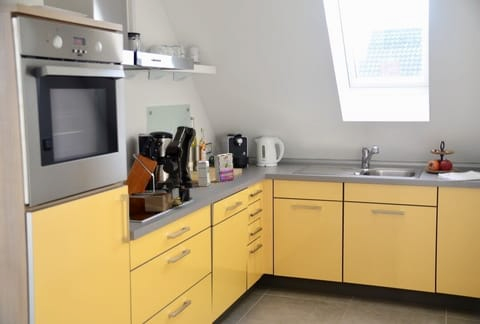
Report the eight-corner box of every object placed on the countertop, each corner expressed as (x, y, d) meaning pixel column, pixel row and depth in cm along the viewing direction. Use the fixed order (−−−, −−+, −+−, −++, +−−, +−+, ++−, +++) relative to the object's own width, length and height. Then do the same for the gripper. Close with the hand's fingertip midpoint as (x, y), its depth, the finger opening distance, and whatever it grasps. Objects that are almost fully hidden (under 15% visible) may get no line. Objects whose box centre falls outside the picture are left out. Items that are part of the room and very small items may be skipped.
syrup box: (207, 186, 347) (206, 161, 345) (198, 186, 348) (196, 161, 346) (210, 184, 352) (209, 160, 351) (200, 184, 353) (199, 160, 352)
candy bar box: (229, 179, 371) (227, 153, 369) (234, 180, 367) (233, 153, 365) (214, 181, 364) (213, 155, 362) (220, 182, 360) (218, 155, 358)
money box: (155, 206, 290) (154, 192, 289) (172, 206, 287) (171, 192, 286) (145, 211, 279) (144, 196, 278) (163, 211, 277) (162, 196, 276)
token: (174, 203, 296) (173, 197, 296) (183, 203, 295) (183, 197, 294) (170, 205, 291) (169, 199, 291) (179, 205, 290) (179, 199, 290)
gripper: (150, 173, 286) (152, 204, 288) (186, 172, 281) (188, 205, 283) (159, 169, 297) (161, 200, 298) (195, 169, 291) (196, 201, 293)
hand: (176, 202), depth 293 cm, fingers closed on token, 5 cm apart
